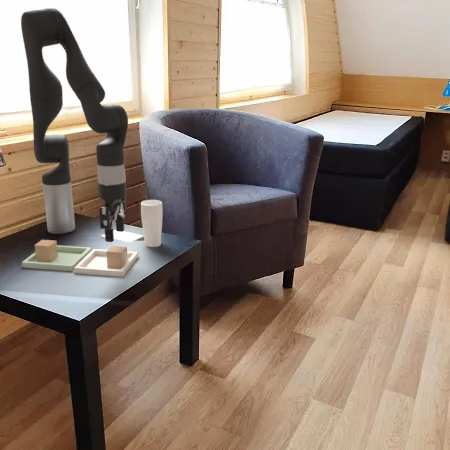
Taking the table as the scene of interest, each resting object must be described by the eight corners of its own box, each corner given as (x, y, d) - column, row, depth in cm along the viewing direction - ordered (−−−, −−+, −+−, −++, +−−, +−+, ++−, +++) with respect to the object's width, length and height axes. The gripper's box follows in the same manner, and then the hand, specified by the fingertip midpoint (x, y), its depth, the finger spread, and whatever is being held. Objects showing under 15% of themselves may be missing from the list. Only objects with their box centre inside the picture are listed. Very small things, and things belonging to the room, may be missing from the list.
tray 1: (46, 251, 148) (45, 244, 147) (92, 255, 146) (91, 247, 146) (22, 270, 135) (21, 262, 134) (72, 274, 133) (72, 266, 132)
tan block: (112, 261, 140) (111, 245, 138) (127, 262, 139) (126, 246, 137) (107, 267, 135) (106, 251, 134) (122, 268, 135) (121, 252, 133)
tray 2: (94, 256, 145) (93, 249, 144) (138, 259, 144) (138, 252, 143) (74, 276, 132) (74, 267, 131) (123, 279, 131) (122, 271, 130)
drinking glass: (159, 251, 150) (158, 206, 145) (139, 249, 151) (137, 204, 146) (166, 243, 156) (165, 200, 151) (146, 242, 158) (144, 198, 153)
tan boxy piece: (43, 255, 143) (42, 239, 141) (58, 256, 143) (56, 240, 141) (36, 261, 139) (34, 245, 137) (50, 262, 138) (49, 246, 137)
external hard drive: (128, 247, 154) (100, 239, 160) (145, 240, 161) (117, 232, 167) (128, 242, 154) (100, 235, 160) (144, 235, 161) (117, 228, 167)
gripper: (108, 174, 136) (111, 227, 141) (87, 185, 123) (92, 244, 128) (133, 175, 135) (135, 229, 140) (115, 187, 122) (119, 246, 127)
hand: (115, 236), depth 134 cm, fingers open, 8 cm apart
